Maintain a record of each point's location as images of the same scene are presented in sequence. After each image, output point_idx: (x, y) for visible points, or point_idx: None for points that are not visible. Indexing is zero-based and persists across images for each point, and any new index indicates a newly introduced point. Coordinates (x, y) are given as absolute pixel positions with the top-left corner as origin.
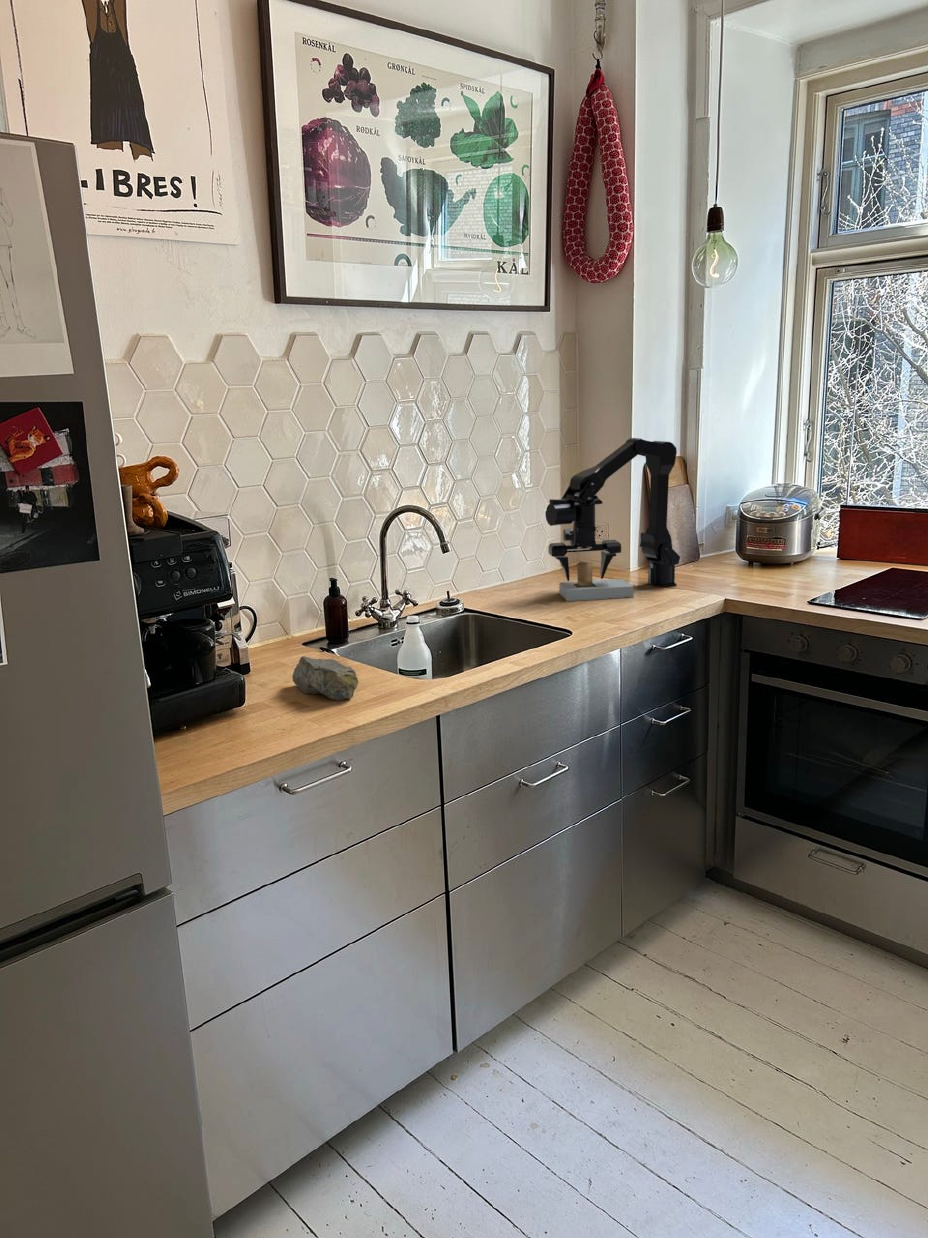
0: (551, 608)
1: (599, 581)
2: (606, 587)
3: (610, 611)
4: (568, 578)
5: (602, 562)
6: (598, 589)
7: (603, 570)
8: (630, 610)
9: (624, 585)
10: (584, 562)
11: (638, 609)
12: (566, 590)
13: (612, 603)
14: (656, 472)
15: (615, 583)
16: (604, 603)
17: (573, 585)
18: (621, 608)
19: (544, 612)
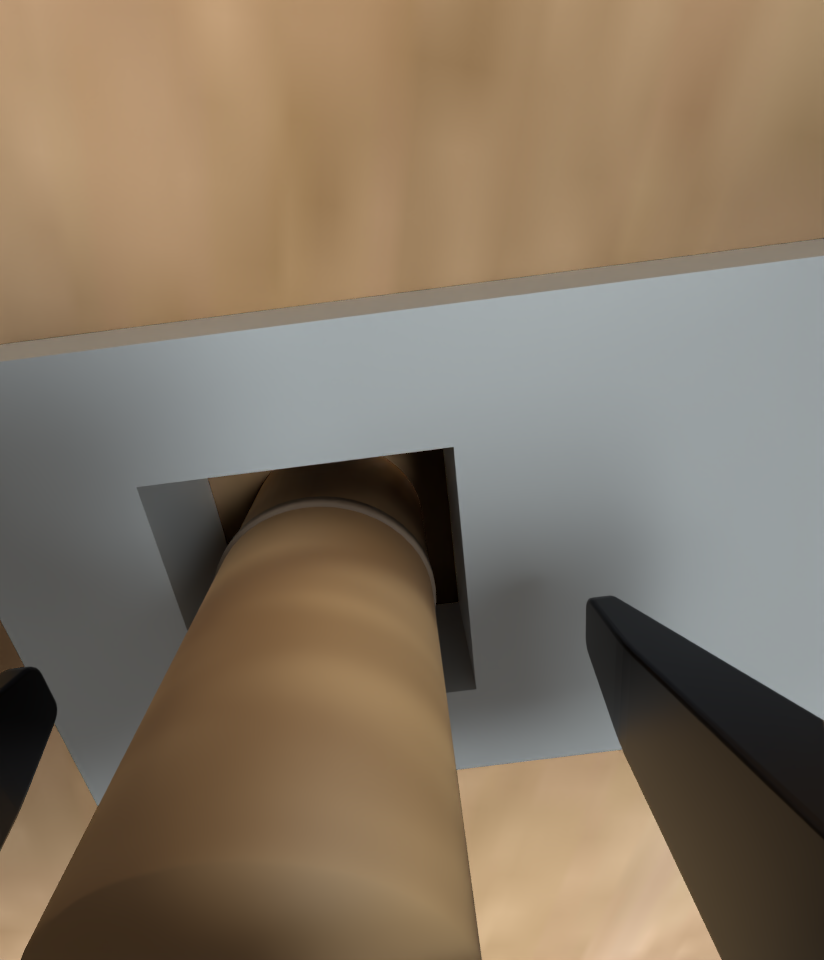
0: (52, 875)
1: (581, 395)
2: (577, 740)
3: (483, 945)
4: (27, 762)
5: (794, 952)
6: (474, 754)
7: (674, 827)
8: (617, 933)
9: (820, 673)
10: (246, 920)
11: (677, 918)
12: (99, 799)
13: (550, 788)
14: None
15: (763, 561)
16: (486, 784)
17: (159, 602)
18: (575, 896)
19: (22, 948)
